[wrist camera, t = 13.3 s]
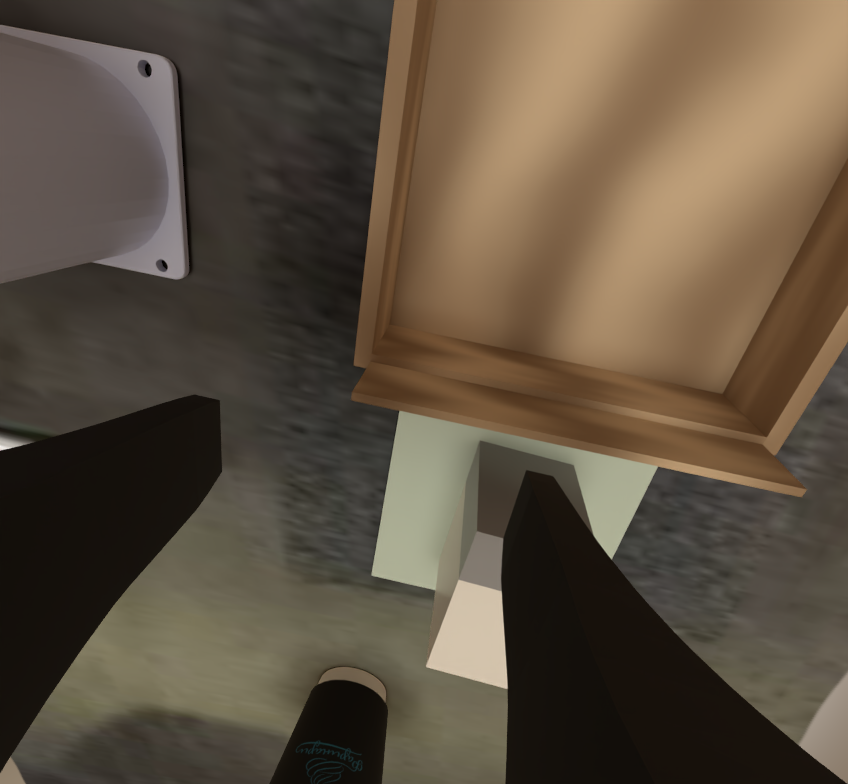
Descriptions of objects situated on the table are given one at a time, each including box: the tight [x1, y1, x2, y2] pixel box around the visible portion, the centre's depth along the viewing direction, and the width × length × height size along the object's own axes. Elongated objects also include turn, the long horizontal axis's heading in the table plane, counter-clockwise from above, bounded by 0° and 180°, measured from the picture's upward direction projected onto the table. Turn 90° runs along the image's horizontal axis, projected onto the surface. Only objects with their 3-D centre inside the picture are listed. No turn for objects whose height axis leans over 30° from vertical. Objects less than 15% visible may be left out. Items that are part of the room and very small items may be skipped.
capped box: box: [426, 440, 593, 689], centre depth 21 cm, size 4×8×6 cm, turn 167°
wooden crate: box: [351, 0, 848, 497], centre depth 12 cm, size 15×21×6 cm
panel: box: [372, 411, 658, 590], centre depth 24 cm, size 12×12×1 cm
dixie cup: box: [270, 667, 388, 784], centre depth 27 cm, size 8×8×11 cm
